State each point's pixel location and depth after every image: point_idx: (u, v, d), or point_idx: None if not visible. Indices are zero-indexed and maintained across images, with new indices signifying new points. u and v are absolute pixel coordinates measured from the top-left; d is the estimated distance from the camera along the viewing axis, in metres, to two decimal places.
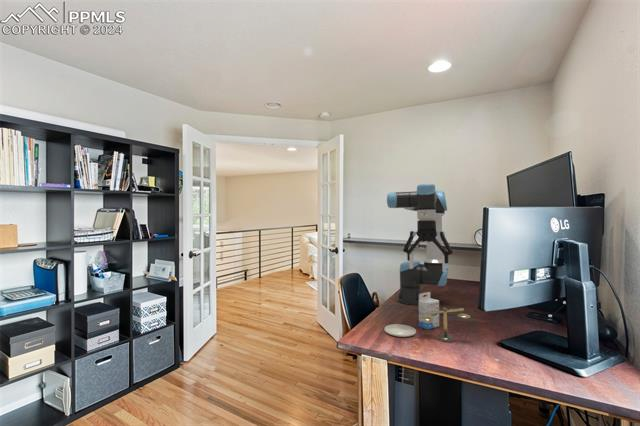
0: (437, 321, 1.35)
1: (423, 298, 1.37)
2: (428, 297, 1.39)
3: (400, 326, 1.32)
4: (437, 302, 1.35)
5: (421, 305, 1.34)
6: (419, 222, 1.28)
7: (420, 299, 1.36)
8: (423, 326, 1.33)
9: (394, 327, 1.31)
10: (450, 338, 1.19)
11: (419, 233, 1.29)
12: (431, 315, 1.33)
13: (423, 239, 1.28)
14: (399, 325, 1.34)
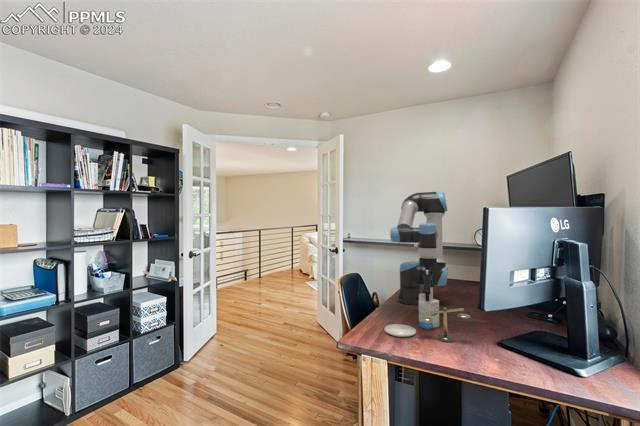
0: (437, 321, 1.35)
1: (423, 298, 1.37)
2: None
3: (400, 326, 1.32)
4: (437, 302, 1.35)
5: (421, 305, 1.34)
6: None
7: (420, 299, 1.36)
8: (423, 326, 1.33)
9: (394, 327, 1.31)
10: (450, 338, 1.19)
11: None
12: (431, 315, 1.33)
13: None
14: (399, 325, 1.34)
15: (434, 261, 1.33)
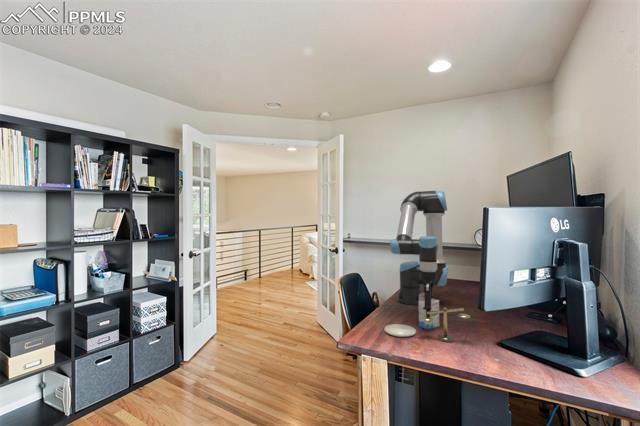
0: (437, 321, 1.35)
1: (423, 298, 1.37)
2: None
3: (400, 326, 1.32)
4: (437, 302, 1.35)
5: (421, 305, 1.34)
6: None
7: (420, 299, 1.36)
8: (423, 326, 1.33)
9: (394, 327, 1.31)
10: (450, 338, 1.19)
11: None
12: None
13: None
14: (399, 325, 1.34)
15: (435, 274, 1.33)
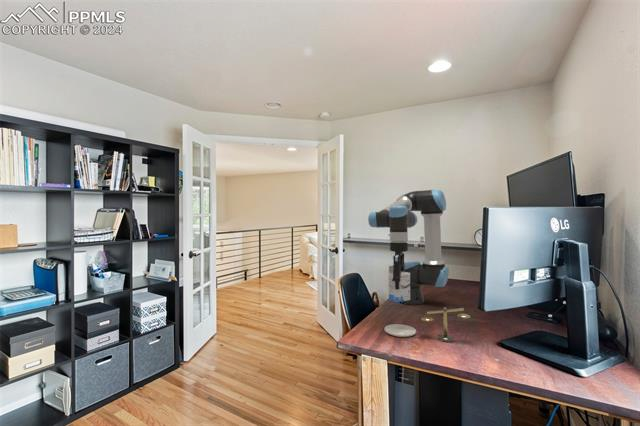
0: (408, 294, 1.29)
1: None
2: None
3: (400, 326, 1.32)
4: (408, 274, 1.29)
5: (391, 277, 1.28)
6: None
7: (390, 272, 1.30)
8: (393, 299, 1.27)
9: (394, 327, 1.31)
10: (450, 338, 1.19)
11: None
12: (401, 288, 1.26)
13: None
14: (399, 325, 1.34)
15: (405, 245, 1.27)
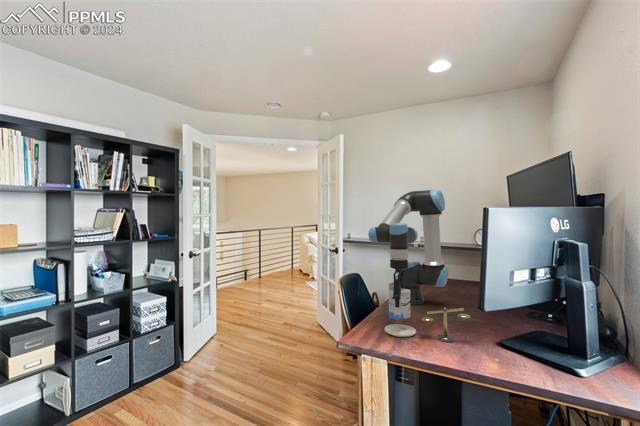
0: (408, 312, 1.28)
1: None
2: None
3: (400, 326, 1.32)
4: (408, 292, 1.29)
5: (391, 295, 1.27)
6: None
7: (390, 289, 1.29)
8: (393, 317, 1.26)
9: (394, 327, 1.31)
10: (450, 338, 1.19)
11: None
12: (401, 305, 1.26)
13: None
14: (399, 325, 1.34)
15: (405, 262, 1.26)
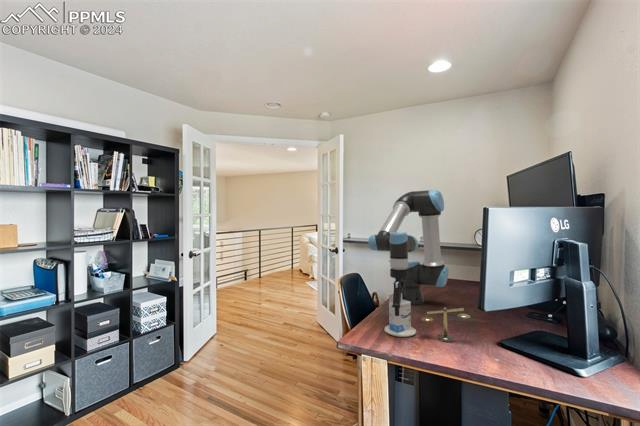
0: (408, 323, 1.28)
1: None
2: None
3: None
4: (408, 303, 1.29)
5: (391, 307, 1.28)
6: None
7: (391, 300, 1.30)
8: (393, 329, 1.27)
9: None
10: (450, 338, 1.19)
11: None
12: (401, 317, 1.26)
13: None
14: None
15: (405, 272, 1.26)
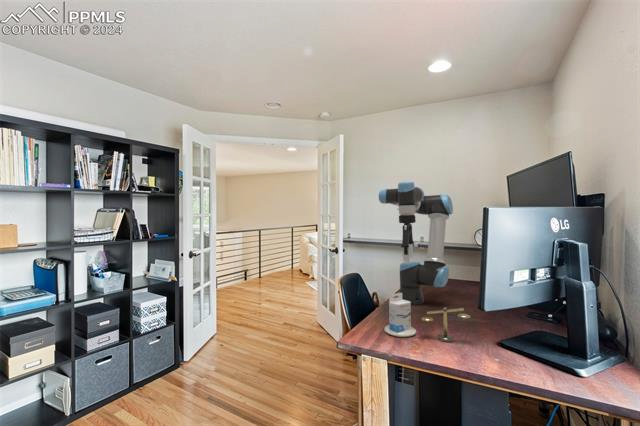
0: (408, 323, 1.28)
1: (394, 299, 1.31)
2: (400, 298, 1.33)
3: None
4: (408, 303, 1.29)
5: (391, 307, 1.28)
6: None
7: (391, 300, 1.30)
8: (393, 329, 1.27)
9: None
10: (450, 338, 1.19)
11: None
12: (401, 317, 1.26)
13: None
14: None
15: (413, 217, 1.39)
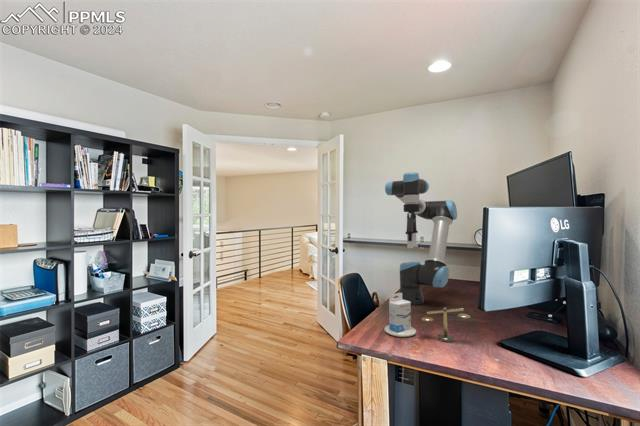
0: (408, 323, 1.28)
1: (394, 299, 1.31)
2: (400, 298, 1.33)
3: None
4: (408, 303, 1.29)
5: (391, 307, 1.28)
6: None
7: (391, 300, 1.30)
8: (393, 329, 1.27)
9: None
10: (450, 338, 1.19)
11: None
12: (401, 317, 1.26)
13: None
14: None
15: (417, 206, 1.46)
